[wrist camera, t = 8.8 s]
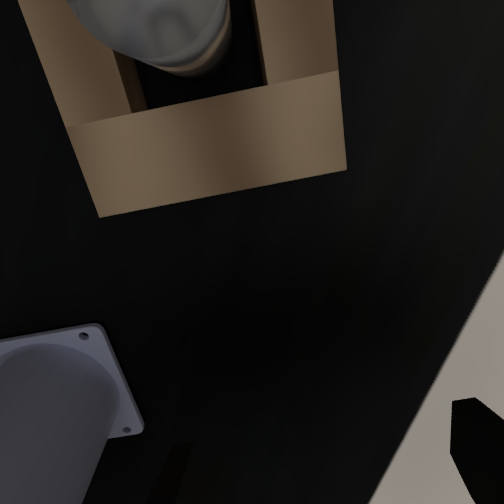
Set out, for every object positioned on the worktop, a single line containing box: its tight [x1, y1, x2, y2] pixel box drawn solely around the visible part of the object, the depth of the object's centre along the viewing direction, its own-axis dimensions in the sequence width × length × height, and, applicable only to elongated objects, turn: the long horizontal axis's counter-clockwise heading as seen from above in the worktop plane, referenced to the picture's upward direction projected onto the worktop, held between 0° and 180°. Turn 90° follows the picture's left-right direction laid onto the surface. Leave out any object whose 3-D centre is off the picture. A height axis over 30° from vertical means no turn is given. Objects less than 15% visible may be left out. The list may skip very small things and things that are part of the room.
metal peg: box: [66, 0, 233, 80], centre depth 10 cm, size 3×3×8 cm
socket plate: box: [18, 0, 347, 217], centre depth 13 cm, size 10×12×2 cm
